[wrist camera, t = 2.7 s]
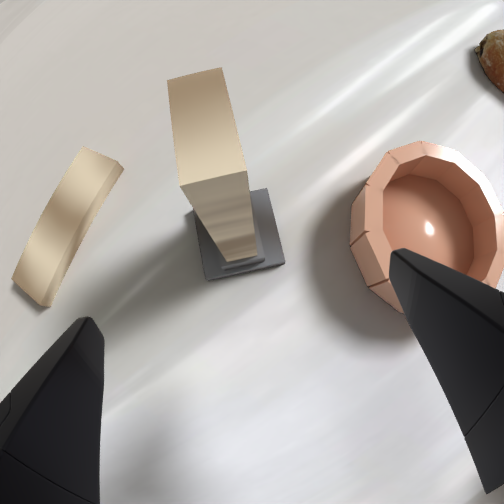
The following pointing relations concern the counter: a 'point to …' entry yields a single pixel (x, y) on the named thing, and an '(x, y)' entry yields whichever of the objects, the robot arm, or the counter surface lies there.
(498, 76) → the bread roll
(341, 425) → the counter surface
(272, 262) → the wooden pillar
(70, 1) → the counter surface
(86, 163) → the light wooden flat block
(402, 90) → the counter surface
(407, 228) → the bowl
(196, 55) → the counter surface
